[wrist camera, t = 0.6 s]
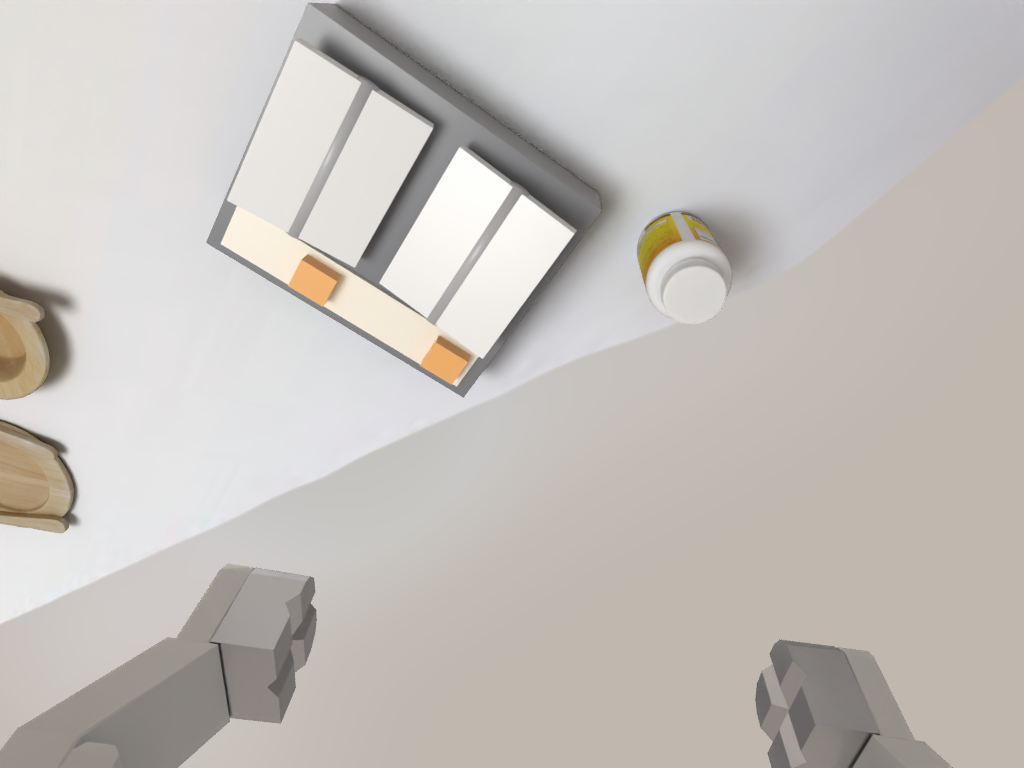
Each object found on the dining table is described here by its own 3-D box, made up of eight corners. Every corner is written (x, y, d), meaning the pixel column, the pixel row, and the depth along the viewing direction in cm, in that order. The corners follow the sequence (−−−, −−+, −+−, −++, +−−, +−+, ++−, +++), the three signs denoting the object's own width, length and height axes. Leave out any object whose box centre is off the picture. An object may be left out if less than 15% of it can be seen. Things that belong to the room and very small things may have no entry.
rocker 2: (466, 144, 42) (460, 145, 41) (578, 228, 43) (575, 232, 42) (385, 279, 47) (377, 284, 46) (486, 353, 48) (481, 360, 47)
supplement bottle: (632, 279, 52) (645, 335, 43) (639, 208, 49) (654, 251, 40) (705, 281, 51) (732, 338, 42) (716, 210, 48) (748, 254, 40)
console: (334, 3, 44) (299, 2, 38) (599, 193, 48) (602, 216, 43) (237, 223, 52) (195, 248, 46) (472, 368, 57) (460, 407, 51)
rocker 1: (300, 35, 39) (295, 38, 37) (434, 122, 42) (433, 127, 41) (231, 194, 44) (225, 202, 42) (356, 261, 47) (353, 269, 46)
